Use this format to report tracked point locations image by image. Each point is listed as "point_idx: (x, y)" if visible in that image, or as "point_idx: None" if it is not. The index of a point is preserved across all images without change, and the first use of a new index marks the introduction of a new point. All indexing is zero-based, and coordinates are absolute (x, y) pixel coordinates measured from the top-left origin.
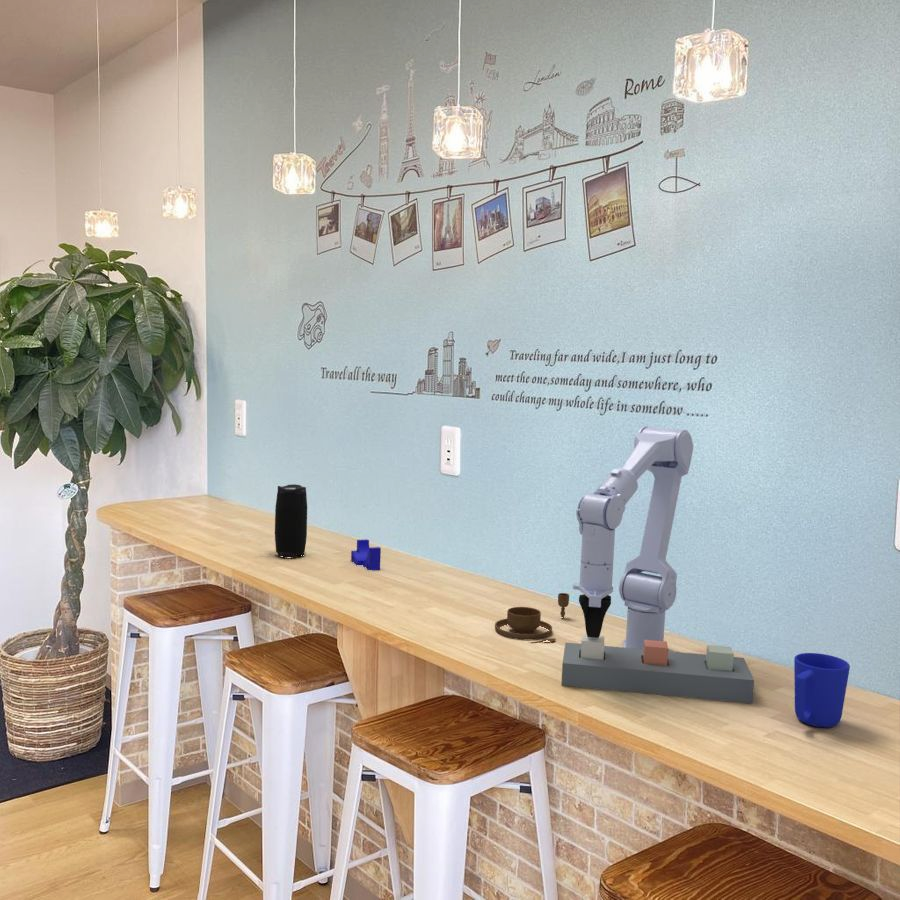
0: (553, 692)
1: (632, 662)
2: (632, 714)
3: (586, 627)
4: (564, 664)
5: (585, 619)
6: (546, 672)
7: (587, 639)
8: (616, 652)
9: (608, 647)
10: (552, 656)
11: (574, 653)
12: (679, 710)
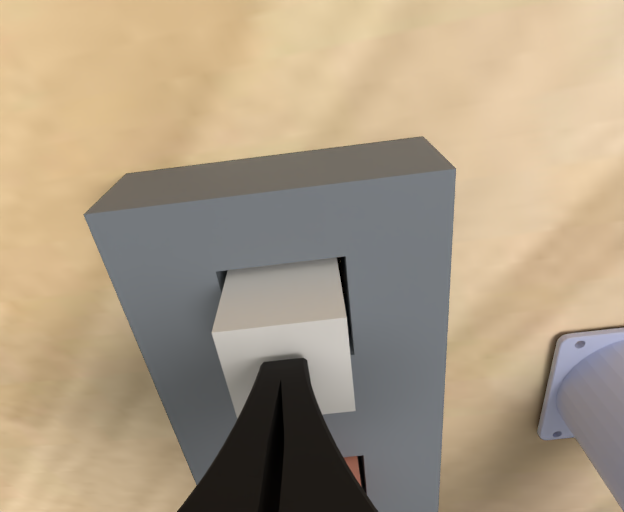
0: (25, 156)
1: None
2: (16, 402)
3: (244, 406)
4: (89, 221)
5: (217, 455)
6: (263, 75)
7: (254, 355)
8: (365, 389)
9: (425, 358)
10: (519, 57)
11: (272, 243)
12: (129, 479)
